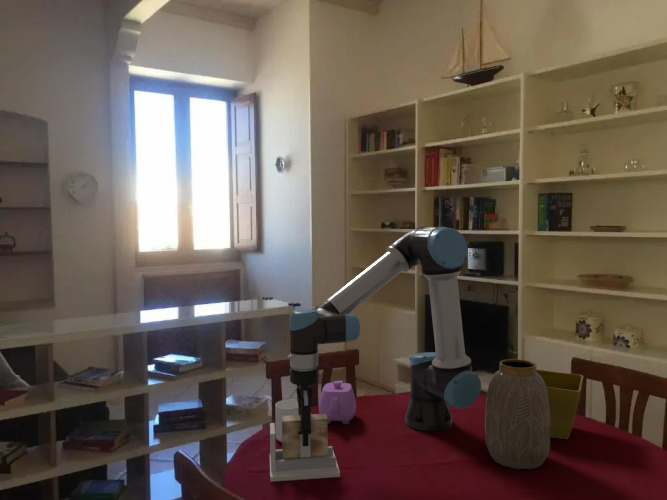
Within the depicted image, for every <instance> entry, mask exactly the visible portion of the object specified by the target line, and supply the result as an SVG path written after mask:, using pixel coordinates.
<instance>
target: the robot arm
mask: <svg viewBox="0 0 667 500" xmlns="http://www.w3.org/2000/svg"><path fill="white" fill-rule="evenodd" d="M468 250H469V249H468V245H467V241H466V239H465V237H464V236H463V234H462V233H461V232H460V231H459V230H457V229H455V228H452V227H447V226H418V227H415V228H413V229H411V230H409V231H408V232H406V233H405V234H403V235H402V236H401V237H399V238H398V239H397V240H395V241H393V243H392V244H390V245H389V246H388V247H386V252H385V253H384V254H383V255H381V256H380V257H379V258H378V259H377V260H375V261H374V262H373V263H372V264H370V265H369V266H368V267H367V268H365V269H364V270H362V271H361V272H360V273H358V275H357V276H355V277H354V278H352V280H350V281H349V282H348V283H347V284H345V285H344V286H343V287H341V288H340V289H339V290H338V291H336V292H335V293H333V295H331V296H330V297H329V298H327V299H326V300H325V301H324V302H322V303H320V305H316V306H311V307H309V308H306V309H305V308H298V309H294V310H292V311H291V312H290V314H289V322H288V323H289V327H288V331H289V355H287V360H289V367H291V368H290V369H289V381H290V383H291V384H293V385H296V391H295V392H296V396H297V397H296V398H297V399H296V400H297V402H298V415H300V421H301V431H300V432H298V434H300V458H303V457H311V454H310V434H311V414H312V397H313V391H312V390H313V389H312V387H311V385H314V384H317V383H318V382H319V370H318V367H319V345H325V344H337V343H338V344H339V343H349V342H355V341H357V340H358V339H359V337H360V334H361V324H360V320H359V318H358V316H357V315H356V314H354V313H352V312H353V311H354V310H356V309H357V308H359V306H361V305H362V304H363V303H366V301H367V300H368V299H370V298H371V297H373V295H375V294H376V293H377V292H378V291H379V290H380V289H382V288H384V286H386V285H387V284H388V283H389V282H390V281H392V280H393V279H394V278H396V277H397V276H398V275H400V274H401V273H402V272H404V273H407V272H408V271H409V270H411V269H412V268H414V267H416V266H421V274H422V276H423V277H425V278H426V279H427V283H428V290H429V299H430V300H429V301H430V308H431V309H430V311H431V318H432V320H431V321H432V329H433V337H434V346H435V347H434V348H435V351H434V352H433V351H431V352H429V351H428V352H419V353H415V354H413V355H412V356H411V357H410V363H409V364H410V365H409V368H410V372H409V373H410V399H409V404H408V406H407V408H406V412H405V416H404V421H405V422H404V423H405V425H406V426H408V427H410V428H412V429H414V430H418V431H422V432H441V431H445V430H449V429H450V428H451V427H452V426H453V416H452V413H451V410H450V407H454V408H455V409H456V408H457V409H465V408H469V407H471V406H472V404H474V403H475V402H476V399H478V397H479V395H480V393H481V391H482V381H481V378H480V377H479V375H478V374H477V373H476V372H475V371H473V368H472V367H473V366H472V359H471V358H470V357H469V356H468V355H467V354H466V350H465V340H464V339H465V338H464V332H463V331H464V330H463V320H462V312H461V311H462V309H461V303H460V302H461V301H460V294H459V291H460V290H459V282H458V276H459V275H460V274H461V272H462V265H463V264H464V262H465V261H466V260H465V259H467V256H468Z"/></svg>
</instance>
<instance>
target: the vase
mask: <svg viewBox="0 0 667 500" xmlns="http://www.w3.org/2000/svg"><path fill="white" fill-rule="evenodd" d="M536 369H537V364H536V362H533V361H530V360H526V359H516V358H515V359H514V358H512V359H511V358H510V359H502V360H500V361H499V370H496V372H494V374H493V375H492V376H491V378H490V380H489V382H488V388H487V392H486V401H485V414H484V433H485V434H484V435H485V437H484V438H485V445H486V448H487V450H488V453H489V455H490V457H491V459H492V458H493V459H492V460H493V461H494V462H495V463H497V464H498V463H499V464H498V465H500V464H501V465H500V466H503V467H505V466H506V468H508V467H510V468H509V469H513V468H514V469H513V470H520V469H529V470H535V469H538V468H540V467H541V466H542V465H543V464H544V462H545V461H546V459H547V457H548V455H549V452H550V448H551V438H550V437H551V418H550V403H549V396H548V390H547V387H546V384H545V382H544V380H543V379H542V377H541V376H540V375H539V374H538V373H537V372H536ZM537 370H538V369H537ZM539 466H540V467H539ZM537 467H538V468H537ZM534 468H535V469H534Z"/></svg>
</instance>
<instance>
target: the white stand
mask: <svg viewBox="0 0 667 500" xmlns="http://www.w3.org/2000/svg"><path fill="white" fill-rule="evenodd" d="M269 446H270V451H269V478H270V483H271V482H272V483H273V482H284V481H285V482H286V481H299V480H311V479H312V480H313V479H326V478H340V477H341V472H340V468H339V465H338V462H337V461H338V460H337V457H336V455H335V453H334V448H333V445H328V456H312V457H303V458H300V457H297V458H283V454H282V448H281V449H277V448H276V424H275V422H270V423H269Z"/></svg>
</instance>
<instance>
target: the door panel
mask: <svg viewBox="0 0 667 500" xmlns="http://www.w3.org/2000/svg"><path fill="white" fill-rule="evenodd" d="M300 431H301V421H300V415H293V416H282V442H281V449H282V454H283V458H297V457H300V434H298V432H300ZM328 431H329V430H328V424H327V416H326V414H319V413H315V414H314V413H311V434H310V454H311V457H312V456H328V446H329V444H328V441H329V439H328V434H329V433H328Z"/></svg>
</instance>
